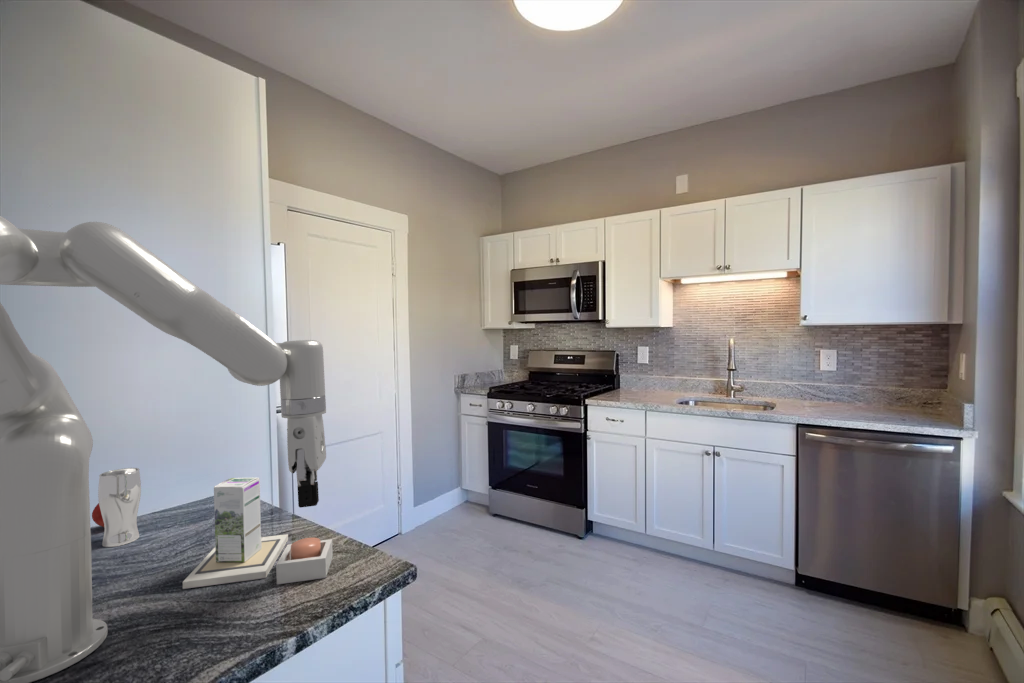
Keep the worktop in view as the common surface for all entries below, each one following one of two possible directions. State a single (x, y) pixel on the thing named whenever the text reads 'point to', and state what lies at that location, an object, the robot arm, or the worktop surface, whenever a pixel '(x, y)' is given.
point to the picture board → (237, 565)
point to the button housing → (304, 565)
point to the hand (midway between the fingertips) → (308, 504)
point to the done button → (306, 548)
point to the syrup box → (237, 519)
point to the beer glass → (119, 505)
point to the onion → (97, 516)
